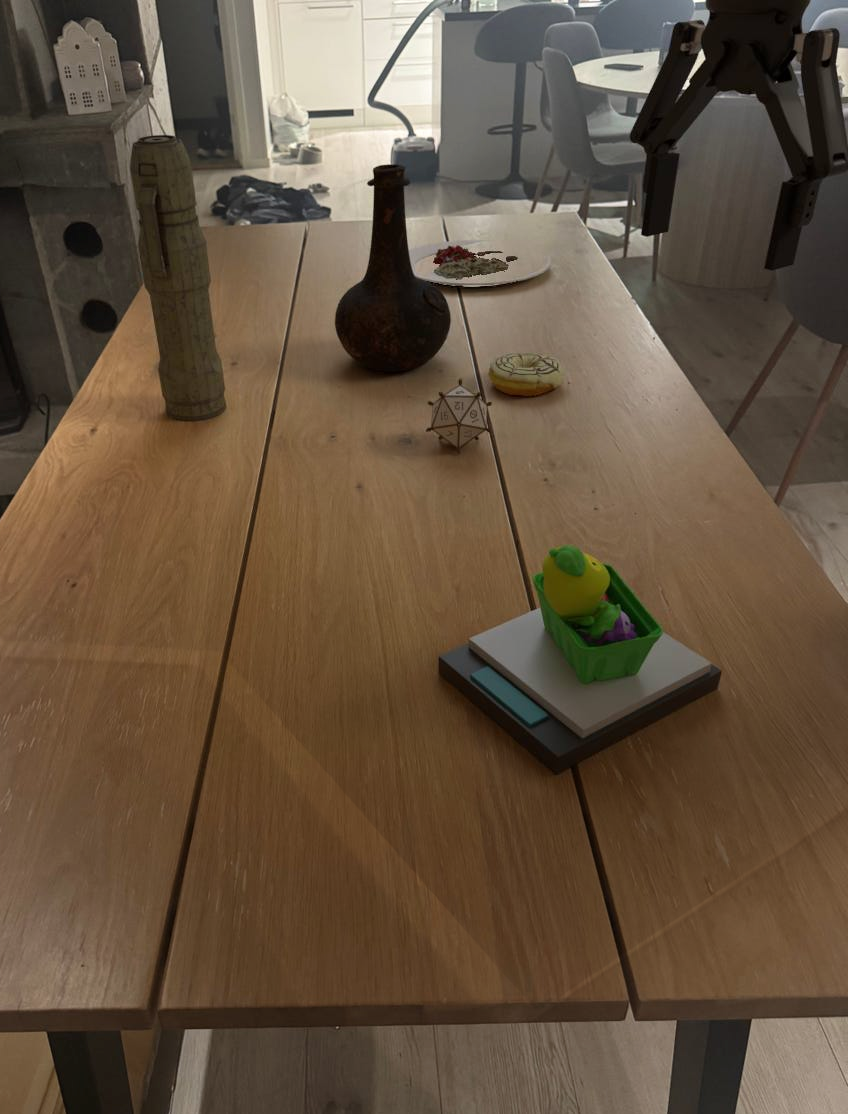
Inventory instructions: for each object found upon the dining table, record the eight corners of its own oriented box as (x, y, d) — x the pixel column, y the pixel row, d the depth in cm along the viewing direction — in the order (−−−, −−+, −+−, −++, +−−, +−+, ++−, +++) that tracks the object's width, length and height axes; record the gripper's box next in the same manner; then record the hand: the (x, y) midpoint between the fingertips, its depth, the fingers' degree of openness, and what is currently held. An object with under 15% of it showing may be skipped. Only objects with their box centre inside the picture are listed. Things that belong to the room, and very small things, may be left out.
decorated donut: (572, 395, 138) (575, 370, 135) (501, 403, 136) (502, 377, 134) (548, 369, 146) (550, 345, 144) (480, 376, 144) (481, 351, 142)
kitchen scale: (718, 688, 85) (724, 661, 83) (556, 775, 77) (559, 747, 75) (591, 604, 96) (594, 579, 94) (438, 673, 88) (438, 647, 86)
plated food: (507, 302, 172) (508, 283, 170) (367, 280, 185) (367, 262, 183) (574, 260, 192) (576, 243, 190) (444, 242, 205) (444, 226, 203)
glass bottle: (418, 391, 141) (418, 184, 124) (315, 371, 148) (302, 174, 131) (468, 351, 153) (475, 158, 136) (371, 335, 160) (365, 150, 144)
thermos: (154, 425, 134) (105, 148, 113) (177, 392, 143) (136, 130, 122) (216, 426, 133) (178, 147, 112) (235, 393, 142) (203, 129, 121)
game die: (451, 464, 130) (454, 390, 130) (505, 457, 124) (507, 380, 124) (410, 452, 123) (413, 375, 123) (464, 445, 117) (467, 363, 117)
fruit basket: (659, 681, 81) (681, 568, 74) (561, 699, 80) (574, 586, 73) (602, 607, 90) (617, 501, 83) (513, 622, 89) (521, 515, 82)
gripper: (960, -56, 63) (869, 274, 76) (673, -55, 80) (638, 215, 93) (891, -52, 60) (808, 292, 73) (608, -51, 77) (581, 228, 90)
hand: (713, 249), depth 83 cm, fingers open, 13 cm apart
